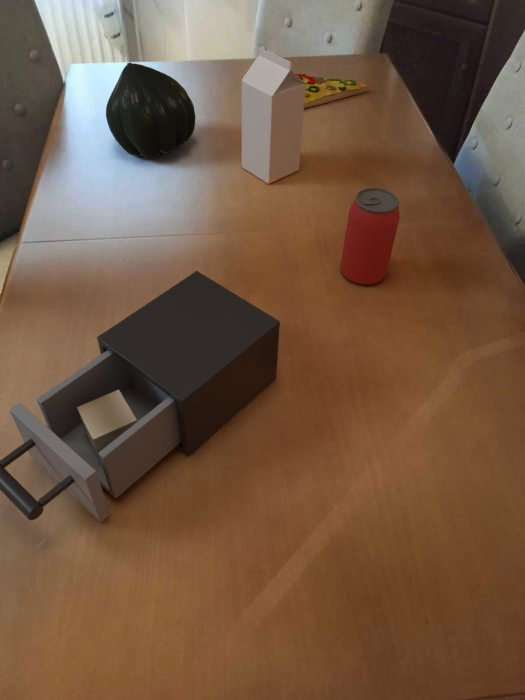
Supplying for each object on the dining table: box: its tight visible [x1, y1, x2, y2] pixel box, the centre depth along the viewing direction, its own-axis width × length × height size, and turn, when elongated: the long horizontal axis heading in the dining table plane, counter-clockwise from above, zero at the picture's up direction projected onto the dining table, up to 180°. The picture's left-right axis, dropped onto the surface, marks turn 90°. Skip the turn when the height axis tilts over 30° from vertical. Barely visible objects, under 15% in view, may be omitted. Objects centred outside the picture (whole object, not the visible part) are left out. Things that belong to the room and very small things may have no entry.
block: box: [77, 390, 137, 465], centre depth 61 cm, size 4×4×4 cm
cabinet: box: [96, 270, 281, 458], centre depth 66 cm, size 15×13×10 cm
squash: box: [105, 62, 196, 160], centre depth 103 cm, size 14×15×15 cm
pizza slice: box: [295, 73, 369, 109], centre depth 123 cm, size 16×21×3 cm
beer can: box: [340, 187, 401, 286], centre depth 81 cm, size 7×7×12 cm
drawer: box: [0, 350, 182, 523], centre depth 59 cm, size 18×11×8 cm, turn 139°
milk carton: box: [241, 47, 306, 185], centre depth 96 cm, size 7×7×19 cm
